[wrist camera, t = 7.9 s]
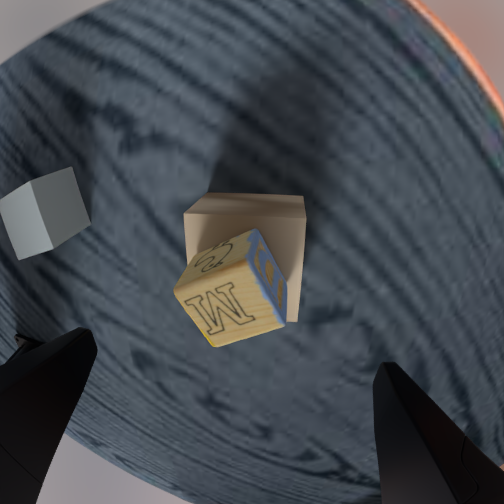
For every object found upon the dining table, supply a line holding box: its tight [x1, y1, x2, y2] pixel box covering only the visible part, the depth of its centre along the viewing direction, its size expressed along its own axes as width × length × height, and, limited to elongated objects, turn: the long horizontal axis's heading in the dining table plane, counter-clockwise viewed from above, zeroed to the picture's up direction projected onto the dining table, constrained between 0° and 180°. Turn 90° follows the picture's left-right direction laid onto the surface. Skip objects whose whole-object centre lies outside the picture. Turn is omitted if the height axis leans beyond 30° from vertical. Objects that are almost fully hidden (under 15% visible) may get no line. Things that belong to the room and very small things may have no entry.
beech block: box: [184, 192, 306, 322], centre depth 15 cm, size 5×5×4 cm
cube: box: [0, 166, 91, 260], centre depth 15 cm, size 4×4×4 cm
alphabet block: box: [174, 229, 288, 347], centre depth 12 cm, size 3×3×3 cm
